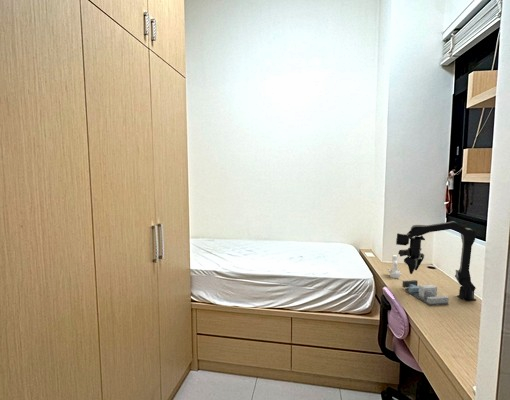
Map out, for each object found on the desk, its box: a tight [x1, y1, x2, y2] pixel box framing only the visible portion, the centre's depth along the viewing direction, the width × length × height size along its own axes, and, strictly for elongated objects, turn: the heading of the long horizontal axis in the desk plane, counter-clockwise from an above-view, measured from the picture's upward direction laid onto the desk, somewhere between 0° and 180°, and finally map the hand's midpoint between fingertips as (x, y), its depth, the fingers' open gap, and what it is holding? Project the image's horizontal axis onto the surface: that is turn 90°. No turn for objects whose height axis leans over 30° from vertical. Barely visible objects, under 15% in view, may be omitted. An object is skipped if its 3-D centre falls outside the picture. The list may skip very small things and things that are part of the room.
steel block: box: [418, 284, 438, 299], centre depth 162 cm, size 8×4×6 cm, turn 99°
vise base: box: [405, 288, 450, 307], centre depth 163 cm, size 11×20×4 cm, turn 9°
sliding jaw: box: [402, 279, 419, 293], centre depth 172 cm, size 11×9×4 cm
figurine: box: [387, 254, 402, 279], centre depth 195 cm, size 7×9×15 cm
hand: (413, 271), depth 172 cm, fingers open, 9 cm apart
